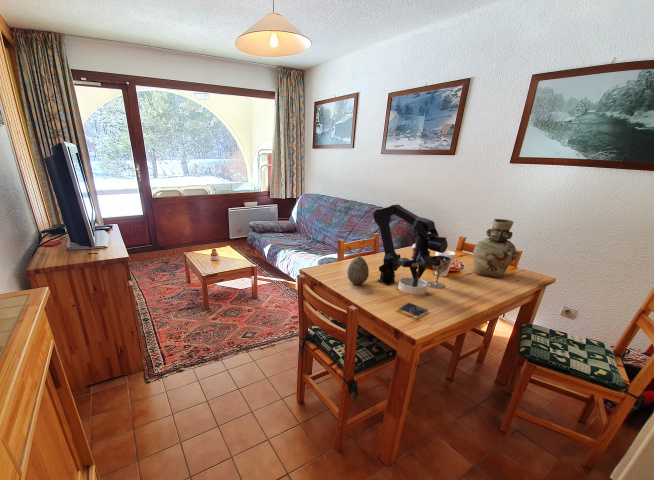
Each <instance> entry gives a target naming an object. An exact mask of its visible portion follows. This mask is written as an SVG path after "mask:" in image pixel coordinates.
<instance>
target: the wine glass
mask: <svg viewBox="0 0 654 480" xmlns="http://www.w3.org/2000/svg"><path fill="white" fill-rule="evenodd" d="M437 257H438V259H440V261H441V263H440V265H439V266H434V265H433V267H432V269H433V271H434V273H435V272H436V274H437V275H436V274H435V275H436V280H435V282H429V283H428V287H431V288H435V289H442V288H444V287H445V286H444V285H443V284H442V283H439V278H440V277H441V276H440V275H441V274H442V273H443V272H444V271H446V270H447V269H448V267H449V264H450V260H451V259H450V258H449V257H446V256H437Z"/></svg>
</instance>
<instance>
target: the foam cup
mask: <svg viewBox="0 0 654 480" xmlns="http://www.w3.org/2000/svg"><path fill="white" fill-rule="evenodd" d="M435 256H446V257H449V258H450V259H451V260H450V264H449V267H448V269H447V270H446V271H444V272H443V273H442V274H441V275H440V276H439V277H447V276H448V274H449V271H450V270H451V266H452V264H453V262H454V259H455V256H456V252H455V251H452V250H448V249H446V251H445V252H444V253H440V252H436V251H435ZM434 274H435V275H436V276H437V274H436V272H435V271H434Z"/></svg>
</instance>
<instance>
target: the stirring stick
mask: <svg viewBox="0 0 654 480" xmlns="http://www.w3.org/2000/svg"><path fill="white" fill-rule="evenodd" d="M419 275H420V272H419V271H418V270H417V271H416V277H415V279H414V280H413V286H412V287H417V285H418V280H419Z"/></svg>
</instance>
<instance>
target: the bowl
mask: <svg viewBox="0 0 654 480" xmlns="http://www.w3.org/2000/svg"><path fill="white" fill-rule="evenodd" d="M413 280H414V279H413V277H412V276H404V277H400V278H399V279H398V283H397V288H398V290H400V291H401V292H403V293H406V294H409V295H410V294H411V295H423V294H427V291H428V287H429V283H428V282H427V281H426V280H424V279H422V278H420V279H419V280H418V285H417V287H412V286H413Z"/></svg>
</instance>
